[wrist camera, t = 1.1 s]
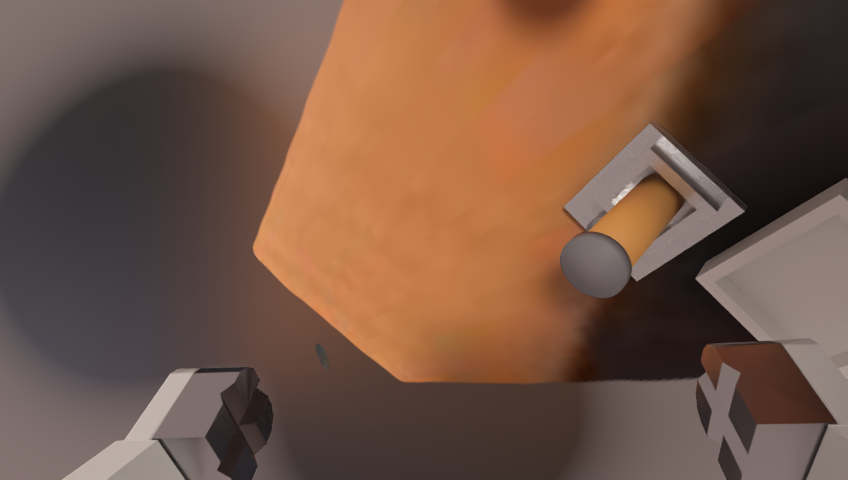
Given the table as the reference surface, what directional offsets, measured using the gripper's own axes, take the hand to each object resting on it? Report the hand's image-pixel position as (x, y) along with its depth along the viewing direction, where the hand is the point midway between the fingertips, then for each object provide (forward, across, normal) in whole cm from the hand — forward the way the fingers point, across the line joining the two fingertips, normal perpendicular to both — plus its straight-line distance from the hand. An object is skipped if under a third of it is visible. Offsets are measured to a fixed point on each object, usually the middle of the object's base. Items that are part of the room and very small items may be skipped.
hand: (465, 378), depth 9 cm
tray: (+27, -25, +20) cm, 42 cm away
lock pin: (+33, -14, +15) cm, 39 cm away
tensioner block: (+35, -14, +17) cm, 41 cm away
